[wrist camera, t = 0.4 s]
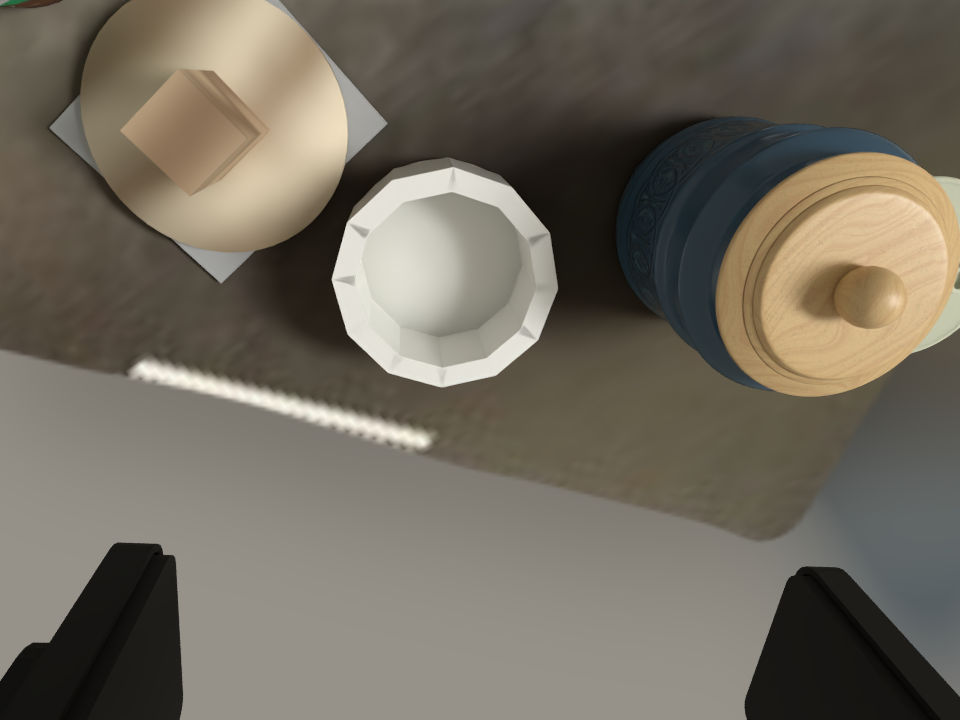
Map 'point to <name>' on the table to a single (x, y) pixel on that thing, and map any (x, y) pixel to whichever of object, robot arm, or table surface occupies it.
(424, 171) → the bowl
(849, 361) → the canister
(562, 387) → the table surface
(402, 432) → the table surface
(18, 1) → the food container
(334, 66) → the mat
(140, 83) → the lid
